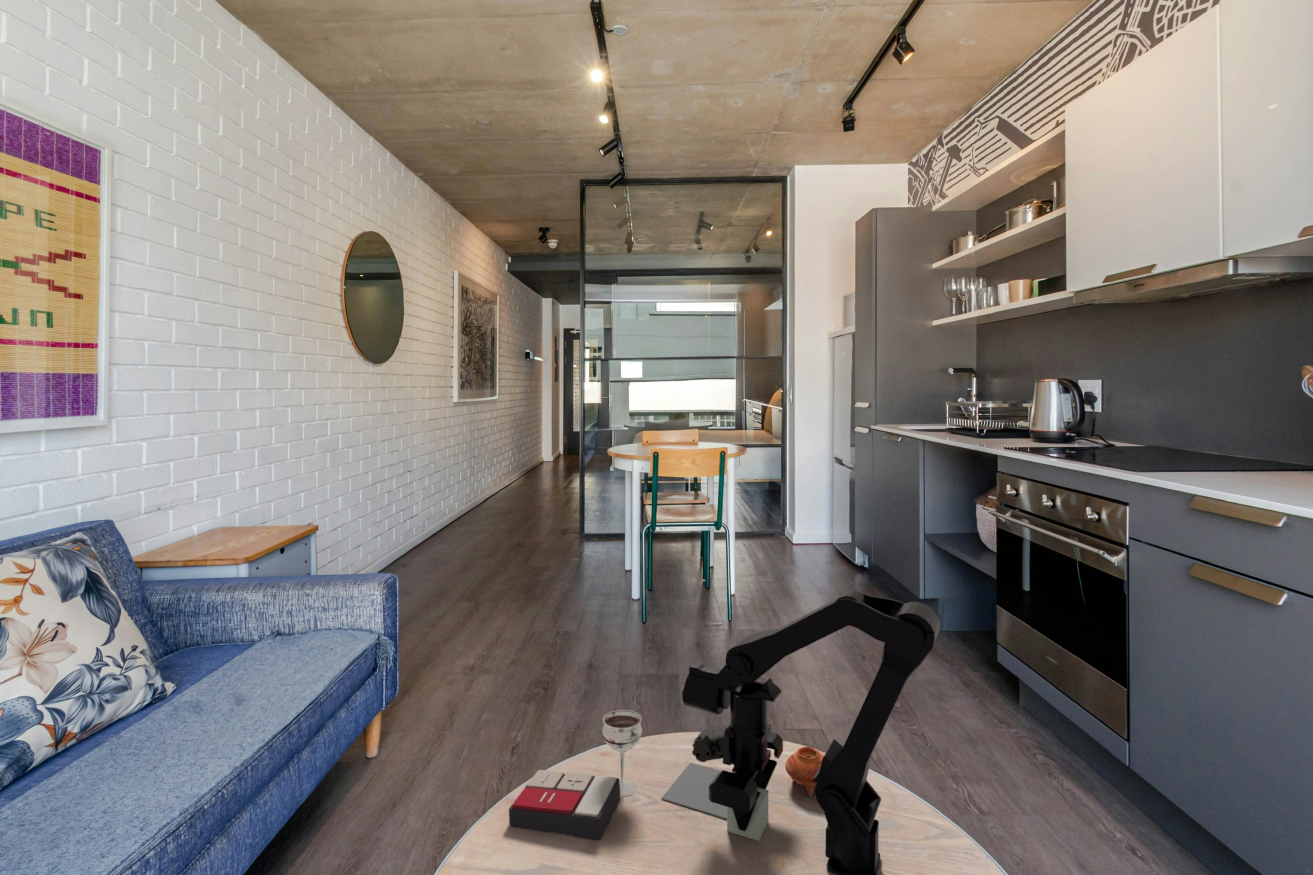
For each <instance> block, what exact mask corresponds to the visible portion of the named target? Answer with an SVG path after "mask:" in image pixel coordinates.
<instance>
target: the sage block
mask: <svg viewBox="0 0 1313 875" xmlns="http://www.w3.org/2000/svg"><path fill="white" fill-rule="evenodd" d="M757 791H758V792H761V794H760V797H759V799H758V802H757V804H756V807H755V809H754V812H753V814H752V817H751V820H750V822H749V825H748V827H747V829H746V831H742V830H739V828H738V825H737V822H736V819H735V815H734V812H733V809H732V808H730V807H727V821H726V823H727V824H726V825H727V826H726V828H727V829H726V830H727V832H729V833H732V834H735V835H739V836H740V837H741V836H742V837H745V838H746V839H747V838H748V839H751V840H754V841H757V842H759V841H760V839H761V838H762V835H763V833H764V831H765V830H766V827H767V825H768V823H769V792H770V791H769V789H766V790H765V789H761V788H758V787H757Z"/></svg>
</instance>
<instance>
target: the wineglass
mask: <svg viewBox="0 0 1313 875" xmlns="http://www.w3.org/2000/svg"><path fill="white" fill-rule="evenodd" d="M602 722H603V726H602V738H603V740H604V742H605V744H606V745H607V746H608V747H609V748H611V749H612V750H613V751H617V753H619V762H620V763H619V764H620V779H619V780H620V798H625V797H629V796H631V795H633V794H634V793H635V792H636V791H637V785H636V783H635V782H633V781H632V780H628V779H624V775H625V773H624V772H625V771H624V770H625V753H626V752H627V751H629V750H632V749H633V748H634V747H635V746H636V745H637V744H638V743H640V740H641V737H642V735H643V734H642V733H643V729H642V724H641V723H642V716H641V715H640V713H638V712H637V711H633V710H630V709H618V710H617V709H616V710H612V711H610V712H608V713H606V714H605V715H603V718H602Z"/></svg>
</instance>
